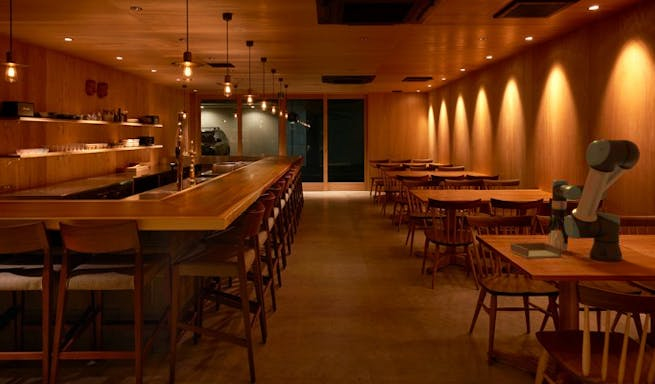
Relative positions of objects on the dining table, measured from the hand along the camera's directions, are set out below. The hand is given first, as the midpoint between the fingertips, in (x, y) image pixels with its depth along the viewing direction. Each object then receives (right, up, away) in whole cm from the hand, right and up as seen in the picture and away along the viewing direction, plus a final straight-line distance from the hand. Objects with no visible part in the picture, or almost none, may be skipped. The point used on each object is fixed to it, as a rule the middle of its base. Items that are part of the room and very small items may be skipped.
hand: (557, 247), depth 314 cm
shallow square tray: (-16, -3, -11) cm, 19 cm away
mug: (0, -2, 0) cm, 2 cm away
